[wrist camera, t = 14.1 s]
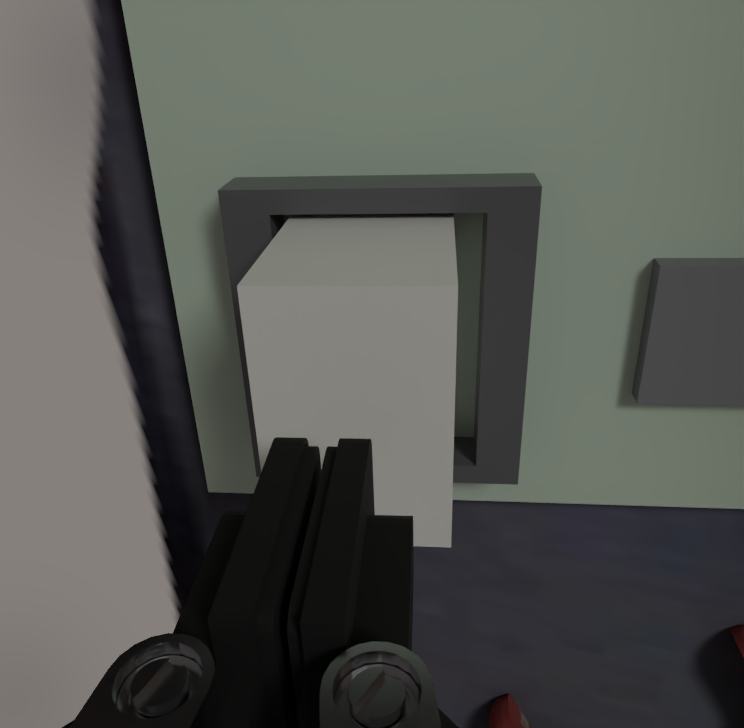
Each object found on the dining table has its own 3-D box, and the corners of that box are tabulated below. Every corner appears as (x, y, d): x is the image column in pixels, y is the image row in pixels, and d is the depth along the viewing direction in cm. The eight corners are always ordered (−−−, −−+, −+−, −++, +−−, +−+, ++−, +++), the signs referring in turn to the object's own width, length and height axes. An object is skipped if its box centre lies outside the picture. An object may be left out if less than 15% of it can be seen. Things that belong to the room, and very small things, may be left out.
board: (1204, -571, 11) (1313, -656, 10) (834, 491, 21) (863, 525, 20) (63, -447, 13) (17, -502, 12) (217, 474, 23) (202, 503, 22)
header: (533, 173, 17) (542, 186, 15) (511, 470, 21) (516, 501, 19) (234, 177, 17) (217, 190, 16) (269, 463, 21) (258, 493, 20)
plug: (452, 203, 17) (458, 286, 12) (447, 429, 20) (450, 574, 15) (298, 205, 18) (236, 285, 12) (316, 426, 21) (273, 567, 15)
